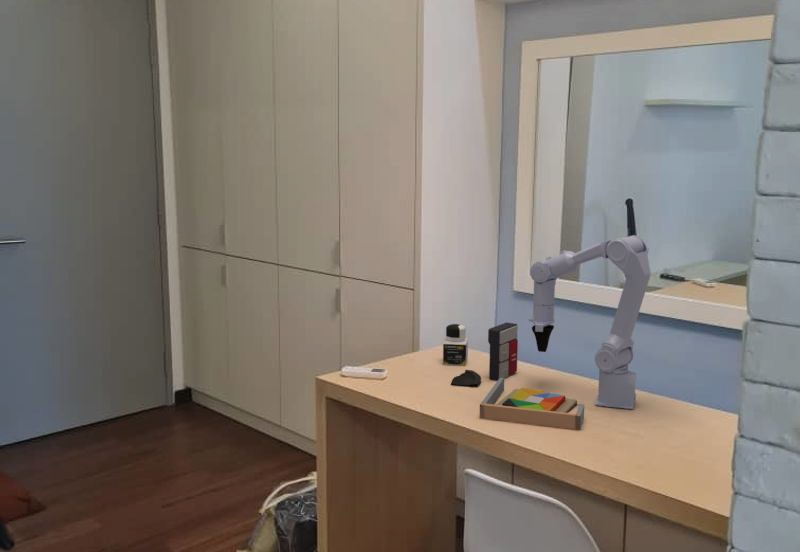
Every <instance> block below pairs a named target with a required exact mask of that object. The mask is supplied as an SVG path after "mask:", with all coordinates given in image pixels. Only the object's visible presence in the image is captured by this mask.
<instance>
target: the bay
mask: <svg viewBox="0 0 800 552" xmlns="http://www.w3.org/2000/svg"><path fill="white" fill-rule="evenodd" d="M504 390H505V378H499V380H498V381H496V382H495V384H494V385H493V386H492V388H491V389H490V390H489V392H488V393H487V394H486V395H485V397H484V398H483V400H482V401H481V402H480V404H479V419H484V420H491V421H500V422H509V423H510V422H511V423H517V424H518V423H519V424H526V425H534V426H542V427H551V428H558V429H559V428H560V429H566V430H567V429H568V430H575V431H581V428H582V425H583V423H584V418H585V404H584V403H583V404H582V403H578V407H577V410H576V412H575V413H572V412H567V413H564V412H555V411H546V410H537V409H529V408H520V407H511V406H502V405H496V402H497V401H498V399H499V398H500V397H501V395H502V394H503V393H504V392H505V391H504Z"/></svg>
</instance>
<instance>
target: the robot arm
mask: <svg viewBox="0 0 800 552" xmlns="http://www.w3.org/2000/svg"><path fill="white" fill-rule="evenodd" d="M649 250H650V248H649V247H648V246H647V244H646V242H645V241H644V240H643V238H641V237H640V236H638V235H635V234H633V235H628V236H625V237H615V238H613V239H610V240H604V241H600V242H597V243H595V244H593V245H591V246H589V247H587V248H583V249H582V250H580V251H577V252H574V251H572V250H566V249H564V250H562V251H559V254H557V255H555V256H548V257H546V258H545V260H543V261H536V262H535V263H533V265H531V267H530V269H529V275H530V277H531V279H532V281H533V302H532V303H533V305H532V307H533V308H532V317H528V322H532V323H533V325H532V326H531V331H532V332H533V334H534V337H535V341H536V347H537V351H538V352H539V353H541V352H542V353H546V351H547V349H548V346H549V341H550V337H551V334H552V332H553V331H554V328H555V325H553V324H554V323H555V319H554V318H555V312H554V311H555V295H556V294H555V292H556V289H555V288H556V282H557V279H558V278H561V277H564V276H566V275H569V274H571V273H574V272H576V271H578V269H579V268H580V265H582V264H585V263H587V262H589V261H593V260H596V259H599V258H603V259H605V260H606V259H608V260H609V261H611V263H613V264H614V265H615V266H616V267H617V268H618V269H619V270H621V271H622V273H623V275H624V276H625V281H624V284H623V289H622V292H621V295H620V298H619V302H618V305H617V308H616V312H615V316H614V318H613V321H612V326H611V328H610V331H609V334H608V335H607V337H605V339H604V340H603V342H602V344H601V347H600V348H599V349H598V350H597V351H596V353H595V355H594V361H595V364H596V366H597V368H598V393H597V397H596V400H595V404H594V405H595V406H600V407H609V408H616V409H618V408H619V409H626V410H633V409H634V408H635V407H634V406H635V401H636V400H637V398H636V397H637V393H636V382H637V381H636V377H637V376H636V375H637V372H634V371H630V370H629V365H630V364H631V363H632V361H633V360H634V349H633V348H634V344H635V342H634V340H632V336H633V333H634V329H635V326H636V322H637V321H638V320H637V319H638V316H639V315H640V314H639V313H640V310H641V308H642V307H641V306H642V304H643V300H644V297H645V293H646V291H647V288H648V285H649V281H650V278H651V269H650V267H651V266H650V263H649V258H648V254H649Z"/></svg>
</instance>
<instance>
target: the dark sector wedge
mask: <svg viewBox="0 0 800 552" xmlns="http://www.w3.org/2000/svg"><path fill="white" fill-rule="evenodd" d="M481 381H482V376H481V375H480V374H479V373H478V372H476V371H475V370H471V369H464V372H463V373H461V374H459V375H456V376H454V377H453V378H452V379H451V382H450V386H453V387H464V388H465V387H468V388H479V387H480V385H481Z"/></svg>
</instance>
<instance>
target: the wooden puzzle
mask: <svg viewBox="0 0 800 552" xmlns="http://www.w3.org/2000/svg"><path fill="white" fill-rule="evenodd" d="M577 404H578V400H577V399H576V398H575V399H574V398H569V397H566V395H563V394H558V393H553V392H547V391H542V390H538V389H531V388H527V387H520V388H514V389H513V390H512V391H511V392H509V393H508V394H507V395H506V396H505V397H504V398H502V399H500V401H499V402H498V403H495V405H502V406H511V407H520V408H529V409H537V410H546V411H555V412H564V413H569V411H570V410H571V408H573V406H575V405H577Z"/></svg>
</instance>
